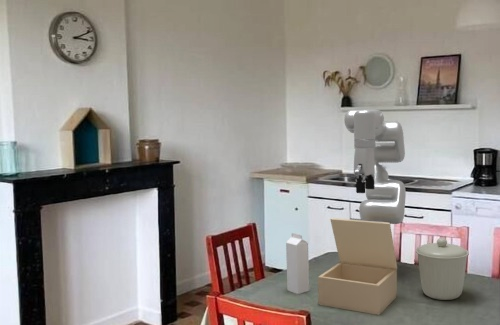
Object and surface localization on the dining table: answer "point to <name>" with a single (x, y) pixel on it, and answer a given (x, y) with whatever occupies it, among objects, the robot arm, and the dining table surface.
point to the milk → (297, 264)
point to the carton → (357, 287)
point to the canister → (442, 269)
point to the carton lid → (364, 242)
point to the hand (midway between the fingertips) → (365, 191)
